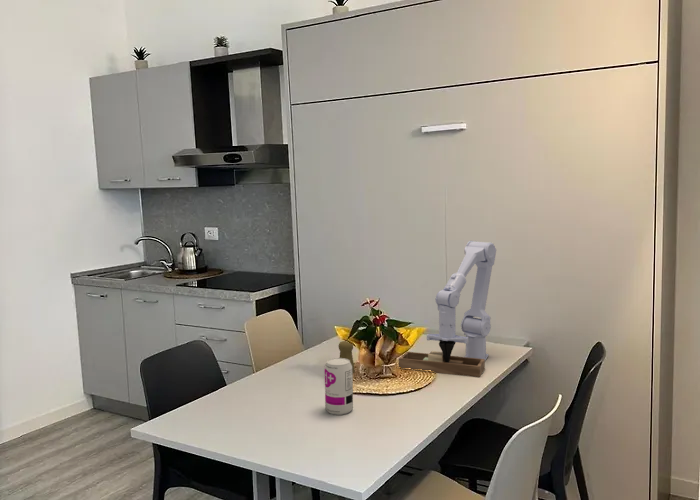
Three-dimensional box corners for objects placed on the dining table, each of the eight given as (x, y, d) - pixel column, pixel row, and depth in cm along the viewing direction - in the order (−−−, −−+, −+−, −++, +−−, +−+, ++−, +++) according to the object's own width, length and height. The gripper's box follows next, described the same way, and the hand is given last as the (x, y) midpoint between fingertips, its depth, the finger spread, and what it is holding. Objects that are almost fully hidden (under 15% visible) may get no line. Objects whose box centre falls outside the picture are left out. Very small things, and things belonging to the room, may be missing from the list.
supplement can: (333, 417, 180) (331, 367, 178) (321, 408, 187) (319, 360, 185) (357, 412, 184) (356, 363, 182) (345, 403, 191) (344, 355, 189)
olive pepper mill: (355, 369, 224) (355, 339, 223) (354, 374, 218) (353, 344, 217) (338, 369, 224) (338, 339, 223) (336, 374, 219) (336, 343, 217)
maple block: (431, 359, 226) (431, 351, 225) (445, 360, 224) (445, 352, 224) (428, 363, 221) (428, 354, 221) (442, 364, 219) (441, 356, 219)
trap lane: (406, 361, 232) (406, 351, 232) (484, 369, 221) (484, 359, 221) (398, 368, 223) (398, 358, 223) (479, 377, 212) (479, 366, 212)
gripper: (424, 325, 218) (424, 362, 220) (465, 328, 213) (465, 366, 215) (429, 320, 225) (429, 356, 227) (469, 323, 219) (469, 360, 221)
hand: (447, 361), depth 221 cm, fingers closed
